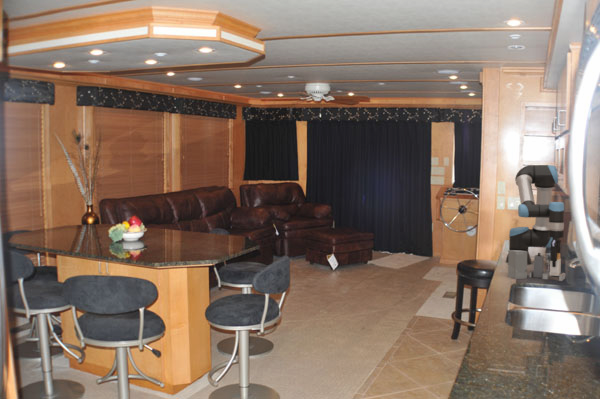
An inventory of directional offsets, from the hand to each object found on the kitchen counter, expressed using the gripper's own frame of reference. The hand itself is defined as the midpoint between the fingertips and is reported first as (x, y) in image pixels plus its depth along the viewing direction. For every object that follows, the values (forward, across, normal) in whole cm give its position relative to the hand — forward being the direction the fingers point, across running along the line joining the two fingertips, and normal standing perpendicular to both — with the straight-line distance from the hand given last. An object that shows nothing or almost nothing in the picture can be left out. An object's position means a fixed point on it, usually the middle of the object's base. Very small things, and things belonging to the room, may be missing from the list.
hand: (555, 271), depth 295 cm
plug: (+2, 0, 0) cm, 2 cm away
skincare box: (+5, +8, -18) cm, 20 cm away
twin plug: (+4, 0, -8) cm, 9 cm away
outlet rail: (+4, 0, -4) cm, 6 cm away
